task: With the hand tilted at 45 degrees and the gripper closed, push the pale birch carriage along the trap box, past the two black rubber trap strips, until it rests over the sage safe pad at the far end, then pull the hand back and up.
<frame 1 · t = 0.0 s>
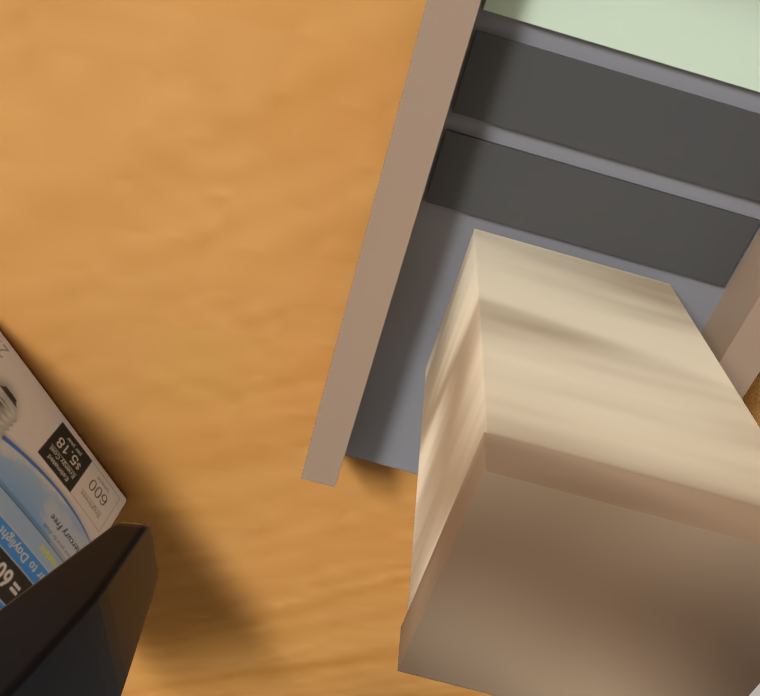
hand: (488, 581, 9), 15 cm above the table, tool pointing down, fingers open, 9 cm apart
trap box: (575, 212, 21), on the table
birch carriage: (565, 435, 17), point 7 cm above the table, slide at 0.0 cm
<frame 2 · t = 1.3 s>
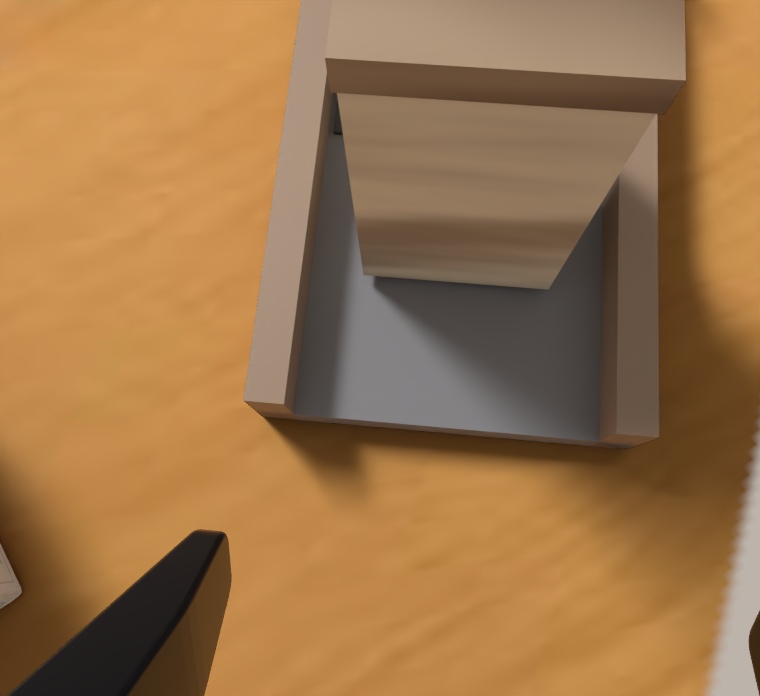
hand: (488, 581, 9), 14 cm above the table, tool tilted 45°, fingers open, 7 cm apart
trap box: (462, 148, 26), on the table
birch carriage: (477, 117, 18), point 7 cm above the table, slide at 0.0 cm
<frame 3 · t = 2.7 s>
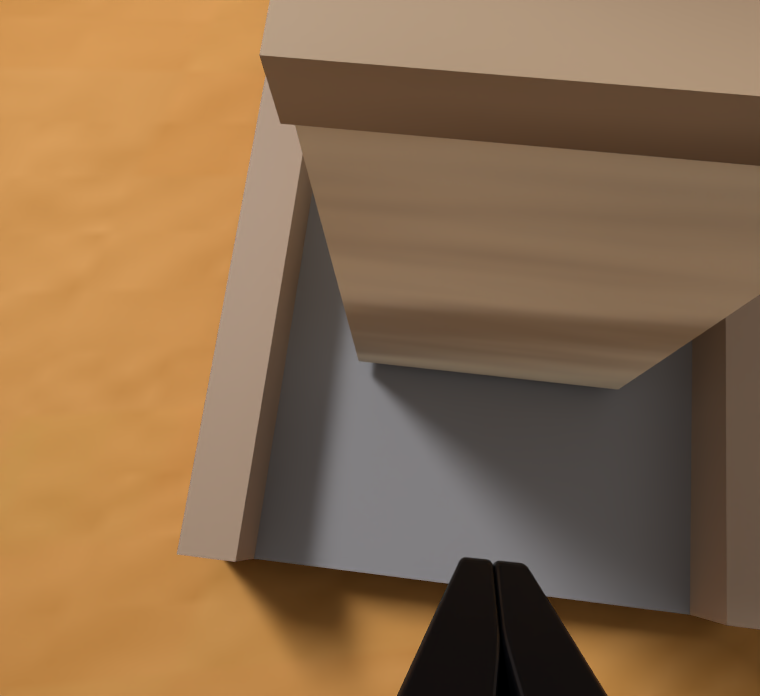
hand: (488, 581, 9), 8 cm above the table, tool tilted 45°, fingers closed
trap box: (497, 182, 19), on the table
birch carriage: (537, 155, 12), point 7 cm above the table, slide at 0.0 cm
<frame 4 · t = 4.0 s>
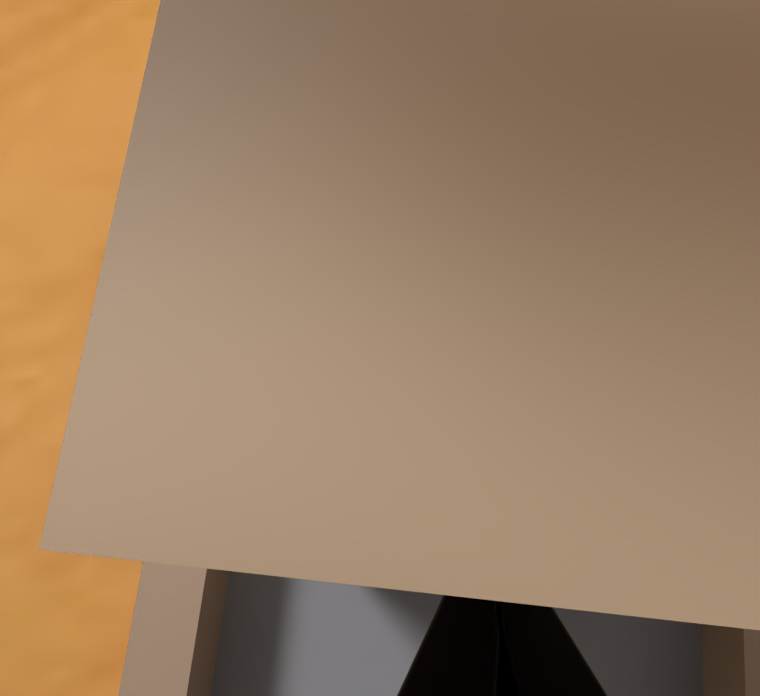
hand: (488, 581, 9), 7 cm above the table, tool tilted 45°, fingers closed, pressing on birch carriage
trap box: (476, 314, 17), on the table
birch carriage: (511, 369, 9), point 7 cm above the table, slide at 0.2 cm, touching gripper
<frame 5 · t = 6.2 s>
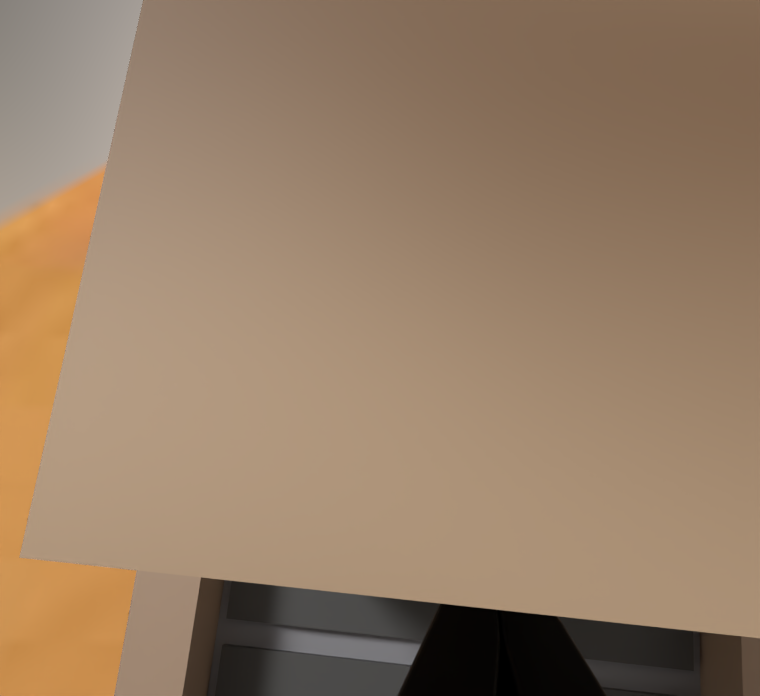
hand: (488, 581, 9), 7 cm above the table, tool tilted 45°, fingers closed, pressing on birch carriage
birch carriage: (506, 368, 9), point 7 cm above the table, slide at 9.7 cm, touching gripper
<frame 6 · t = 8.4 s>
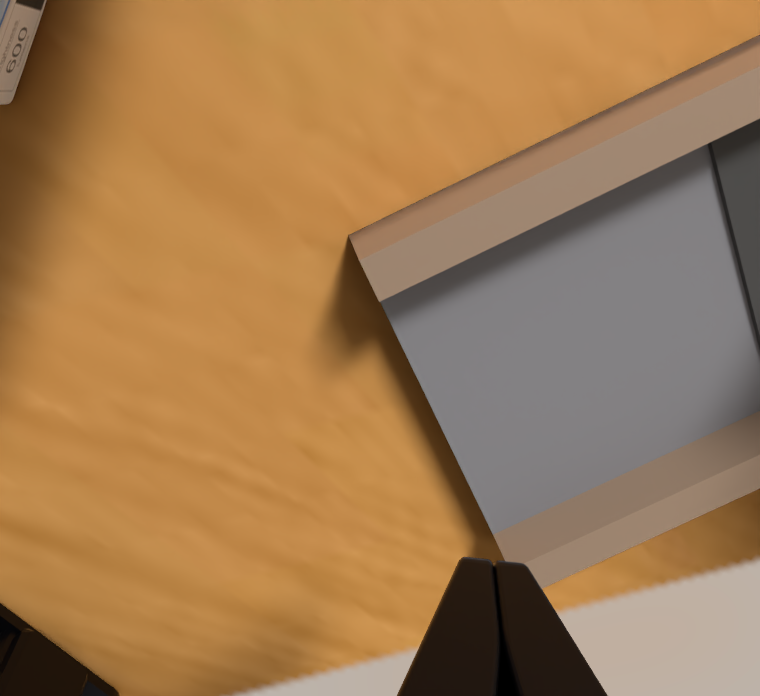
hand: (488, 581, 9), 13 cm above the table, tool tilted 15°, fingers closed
trap box: (732, 258, 22), on the table
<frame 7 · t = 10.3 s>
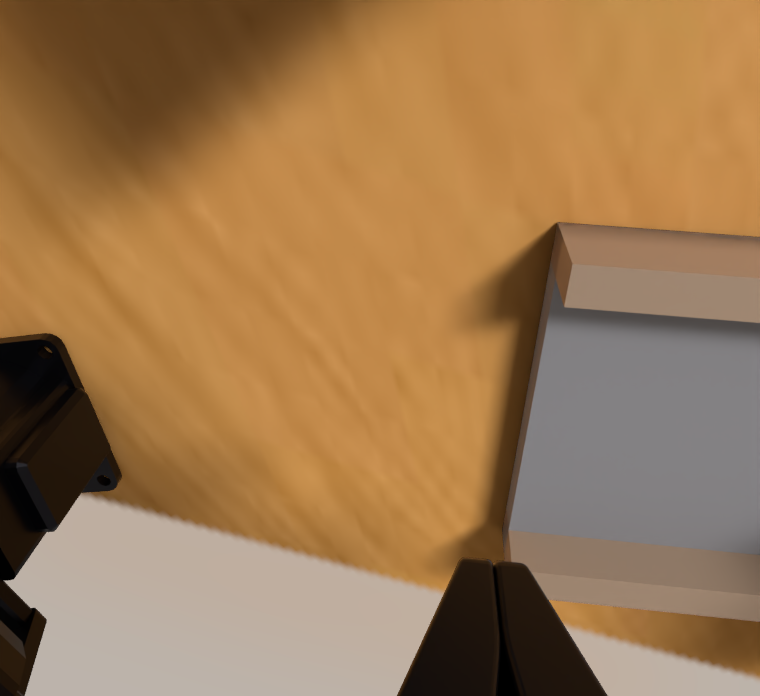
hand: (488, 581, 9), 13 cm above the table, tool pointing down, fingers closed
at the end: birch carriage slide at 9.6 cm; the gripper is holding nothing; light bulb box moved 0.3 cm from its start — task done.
